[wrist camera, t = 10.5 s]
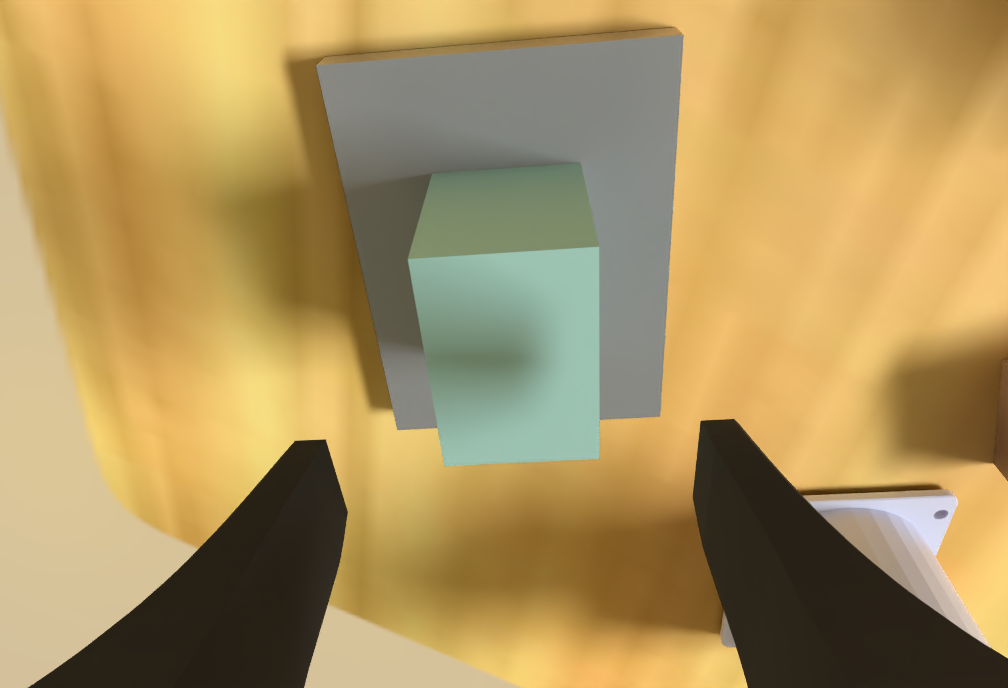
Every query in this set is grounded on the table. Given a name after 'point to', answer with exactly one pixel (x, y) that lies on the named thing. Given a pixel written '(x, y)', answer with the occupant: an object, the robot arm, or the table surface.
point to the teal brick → (510, 314)
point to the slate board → (509, 144)
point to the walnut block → (1002, 424)
